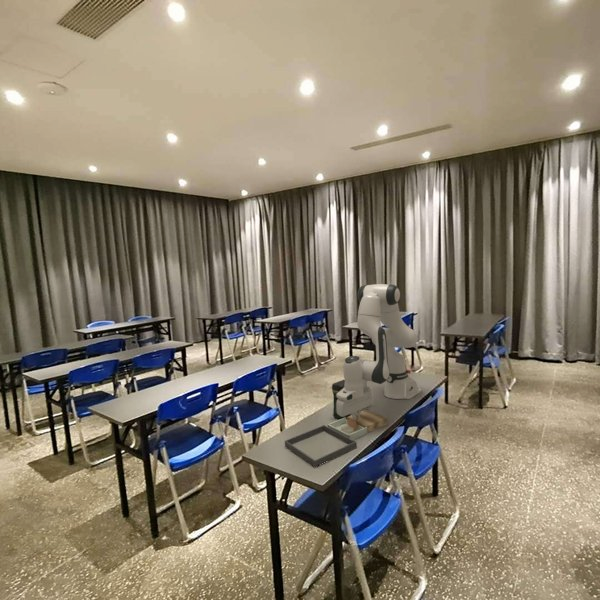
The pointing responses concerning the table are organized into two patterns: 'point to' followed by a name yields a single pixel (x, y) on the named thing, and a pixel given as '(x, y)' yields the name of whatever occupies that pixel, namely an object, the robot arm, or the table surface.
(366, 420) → the oak board
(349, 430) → the cream tile
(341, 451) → the mat rim
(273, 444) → the table surface
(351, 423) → the terracotta tile
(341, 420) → the tray
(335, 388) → the coffee jar
